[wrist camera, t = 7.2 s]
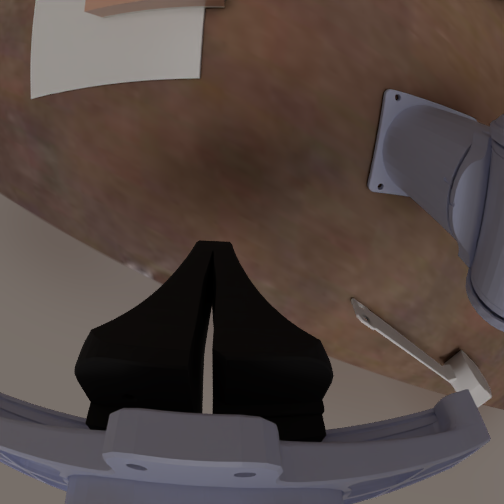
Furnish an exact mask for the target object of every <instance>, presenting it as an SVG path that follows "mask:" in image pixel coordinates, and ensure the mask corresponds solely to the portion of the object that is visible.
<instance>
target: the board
mask: <svg viewBox="0 0 504 504" xmlns="http://www.w3.org/2000/svg"><path fill="white" fill-rule="evenodd" d="M85 1H86V0H36V4H35V11H34V20H33V30H32V44H31V99H33V98H37V97H41V96H45V95H49V94H54V93H59V92H64V91H69V90H74V89H80V88H86V87H92V86H99V85H106V84H114V83H123V82H133V81H145V80H161V79H191V78H200V75H201V58H202V44H203V30H204V18H205V7H204V8H177V9H164V10H153V11H144V12H137V13H130V14H123V15H117V16H112V17H106V18H102V17H99V16H96V15H93V14H90V13H87V12H84V10H85Z"/></svg>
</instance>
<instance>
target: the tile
mask: <svg viewBox="0 0 504 504" xmlns="http://www.w3.org/2000/svg"><path fill="white" fill-rule="evenodd" d="M204 7H220V8H225V0H86V1H85V10H84V12H87V13H90V14H93V15H96V16H99V17H102V18H106V17H112V16H117V15H123V14H130V13H137V12H144V11H153V10H164V9H177V8H204Z"/></svg>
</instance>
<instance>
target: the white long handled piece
mask: <svg viewBox="0 0 504 504" xmlns="http://www.w3.org/2000/svg"><path fill="white" fill-rule="evenodd" d="M351 303H352V305H353V308H354V311H355V314H356V316H357V317H358V319H359V320H360V321H361V322H362V323H364V324H365V325H367V326H368V327H369V328H371V329H372V330H374V329H375V330H376V331H377V332H379V333H380V334H382V335H383V336H385V337H386V338H387V339H389V340H390V341H392V342H393V343H394V344H396V345H397V346H399V347H400V348H402V349H403V350H404V351H406V352H407V353H409V354H410V355H411V356H413V357H414V358H416V359H417V360H418V361H420V362H421V363H423V364H424V365H426V366H427V367H428V368H430V369H431V370H433V371H434V372H435V373H437V374H438V375H440V376H441V377H442V378H444V379H445V380H447V381H448V382H449V383H451V384H452V386H453V387H454V389H455V390H456V392H459V391H462V390H465V389H468V390H469V392H470V394H471V396H472V398H473V400H474V402H475V404H476V406H477V408H478V407H479V406H481V405H482V404H483V403H485V402H486V401H487V400H489V399H490V398H491V397H492V395H491V389H490V387H489V385H488V383H487V381H486V379H485V378H484V376H483V375H482V373H481V372H480V370H479V368H478V367H477V366H476V364H475V363H474V362H473V361H472V360H471V359H470V358H469V357H468V355H467V354H466V353H464V352H463V351H462V350H460V351H459V352H458V353H457V354H455V355H454V356H453V357H452V358H450V359H449V360H448V361H447V362H445V363H444V366H441V365H440V364H439V363H438V362H436V361H435V360H434V359H433V358H431V357H430V356H429V355H427V354H426V353H425V352H424V351H422V350H421V349H420V348H418V347H417V346H416V345H414V344H413V343H412V342H411V341H409V340H408V339H407V338H405V337H404V336H403V335H401V334H400V333H399V332H398V331H396V330H395V329H394V328H392V327H391V326H390V325H388V324H387V323H386V322H384V321H383V320H382V319H381V318H379V317H378V316H377V315H375V314H374V313H373V312H371V311H370V310H369V309H368V308H367V307H366V306H364V305H363V304H361V303H360V302H358V301H357V300H355V299H354V298H352V299H351ZM359 306H360V307H361V308H360V307H359ZM362 308H363V309H362ZM363 317H364V318H366V319H367V320H368V321H367V320H365V319H364V318H363Z"/></svg>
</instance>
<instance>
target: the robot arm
mask: <svg viewBox="0 0 504 504" xmlns="http://www.w3.org/2000/svg"><path fill="white" fill-rule="evenodd" d="M396 94H397V95H398V97H399V98H398V100H396V99H395V95H396ZM379 184H382V185H381V187H380V188H378V185H379ZM367 186H368V188H369V189H370V190H371V191H372V192H379V193H387V194H394V195H402V196H409V197H411V198H412V199H413V200H414V201H415V202H416V203H417V204H419V205H420V206H421V207H422V208H423V209H424V210H425V211H426V212H427V213H428V214H430V215H431V216H432V217H433V218H434V219H435V220H436V221H437V222H438V223H439V224H440V225H441V226H442V227H443V228H444V229H445V230H446V231H447V232H448V233H449V234H450V235H451V236H452V237H453V238H454V239H455V240H456V241H457V242H458V245H459V253H458V256H459V257H460V258H461V259H462V260H463V262H464V263H465V264H466V265H467V266H468V267H469V270H468V274H467V277H466V291H467V295H468V298H469V300H470V302H471V304H472V306H473V307H474V309H475V310H476V311H477V313H478V314H479V315H480V316H481V317H482V318H483V319H484V320H485V321H487V322H488V323H489V324H490V325H492V326H493V327H495V328H497V329H498V330H501V331H503V332H504V114H502V115H501V116H499V117H498V118H497V119H496V120H493V121H492V122H491V123H490V127H489V126H487V125H484V124H482V123H479V122H477V120H476V119H475V118H473V117H471V116H468V115H466V114H463V113H461V112H458V111H456V110H453V109H451V108H448V107H446V106H443V105H440V104H437V103H434V102H432V101H429V100H426V99H423V98H420V97H417V96H413V95H410V94H407V93H404V92H400V91H397V90H393V89H387V90H386V91H385V92H384V97H383V104H382V110H381V116H380V122H379V128H378V134H377V139H376V145H375V150H374V155H373V160H372V165H371V170H370V174H369V179H368V184H367ZM211 307H212V310H213V325H214V334H213V349H212V351H213V353H212V354H213V414H202V401H203V369H204V368H203V367H204V352H205V344H206V338H207V331H208V325H209V319H210V313H211ZM75 376H76V378H77V380H78V382H79V384H80V385H81V387H82V389H83V390H84V392H85V393H86V395H87V397H88V398H89V400H90V401H91V403H90V407H89V411H88V415H87V419H86V418H81V417H78V416H73V415H69V414H66V413H62V412H58V411H54V410H51V409H47V408H44V407H41V406H37V405H34V404H31V403H28V402H25V401H22V400H19V399H17V398H14V397H11V396H8V395H5V394H3V393H0V462H2V463H4V464H5V465H7V466H9V467H12V468H13V469H15V470H17V471H19V472H21V473H23V474H26V475H28V476H30V477H32V478H34V479H37V480H39V481H41V482H43V483H46V484H48V485H51V486H54V487H56V488H58V489H61V490H64V491H66V492H67V493H66V500H65V504H353V503H357V502H361V501H364V500H368V499H371V498H374V497H377V496H380V495H384V494H387V493H390V492H392V491H395V490H398V489H401V488H403V487H406V486H409V485H412V484H414V483H417V482H419V481H421V480H424V479H427V478H429V477H431V476H434V475H436V474H438V473H441V472H443V471H445V470H447V469H450V468H452V467H454V466H455V465H457V464H458V463H460V462H461V461H463V460H464V459H465V458H467V457H469V456H470V455H471V454H473V453H474V452H476V451H477V450H479V449H480V448H481V447H483V446H484V445H485V444H486V443H488V442H489V441H490V439H491V438H490V436H489V433H488V431H487V428H486V426H485V424H484V422H483V419H482V417H481V415H480V413H479V411H478V408H477V406H476V404H475V402H474V400H473V398H472V396H471V394H470V392H469V390H468V389H465V390H462V391H459V392H456V393H453V394H449V395H447V396H445V397H444V398H442V399H441V400H440V401H439V402H438V403H437V404H436V405H435V407H434V408H432V409H429V410H425V411H422V412H418V413H414V414H410V415H406V416H402V417H397V418H393V419H388V420H384V421H379V422H374V423H369V424H363V425H357V426H351V427H344V428H337V429H329V430H325V426H324V421H323V416H322V414H323V412H324V405H323V401H322V399H323V397H324V396H325V394H326V392H327V390H328V388H329V386H330V384H331V383H332V379H333V371H332V367H331V363H330V361H329V358H328V356H327V353H326V351H325V349H324V347H323V345H322V343H321V341H320V340H319V339H317V338H315V337H314V336H312V335H310V334H308V333H307V332H305V331H303V330H302V329H300V328H299V327H297V326H296V325H294V324H293V323H292V322H290V321H289V320H287V319H286V318H285V317H284V316H283V315H281V314H280V313H279V312H278V311H277V310H276V309H275V308H273V307H272V306H271V305H270V304H269V303H268V302H267V300H266V299H265V298H264V297H263V296H262V295H261V294H260V293H259V291H258V290H257V289H256V287H255V286H254V285H253V283H252V282H251V281H250V279H249V278H248V276H247V275H246V273H245V271H244V270H243V268H242V266H241V264H240V263H239V261H238V259H237V257H236V254H235V252H234V249H233V246H232V244H231V243H230V242H219V241H198V242H197V243H196V244H195V246H194V247H193V249H192V251H191V252H190V253H189V255H188V256H187V258H186V259H185V260H184V261H183V263H182V264H181V265H180V267H179V268H178V269H177V270H176V271H175V272H174V273H173V275H172V276H171V277H170V278H169V279H168V280H167V281H166V282H165V283H164V284H163V285H162V286H161V287H160V288H159V289H158V290H157V291H155V292H154V293H153V294H152V295H151V296H149V297H148V298H147V299H146V300H145V301H143V302H142V303H140V304H139V305H138V306H136V307H135V308H133V309H131V310H130V311H128V312H126V313H125V314H123V315H121V316H119V317H118V318H116V319H114V320H112V321H110V322H108V323H105V324H103V325H101V326H99V327H97V328H94V329H92V330H91V332H90V333H89V335H88V337H87V339H86V340H85V342H84V345H83V347H82V349H81V352H80V355H79V357H78V360H77V362H76V366H75Z"/></svg>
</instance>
